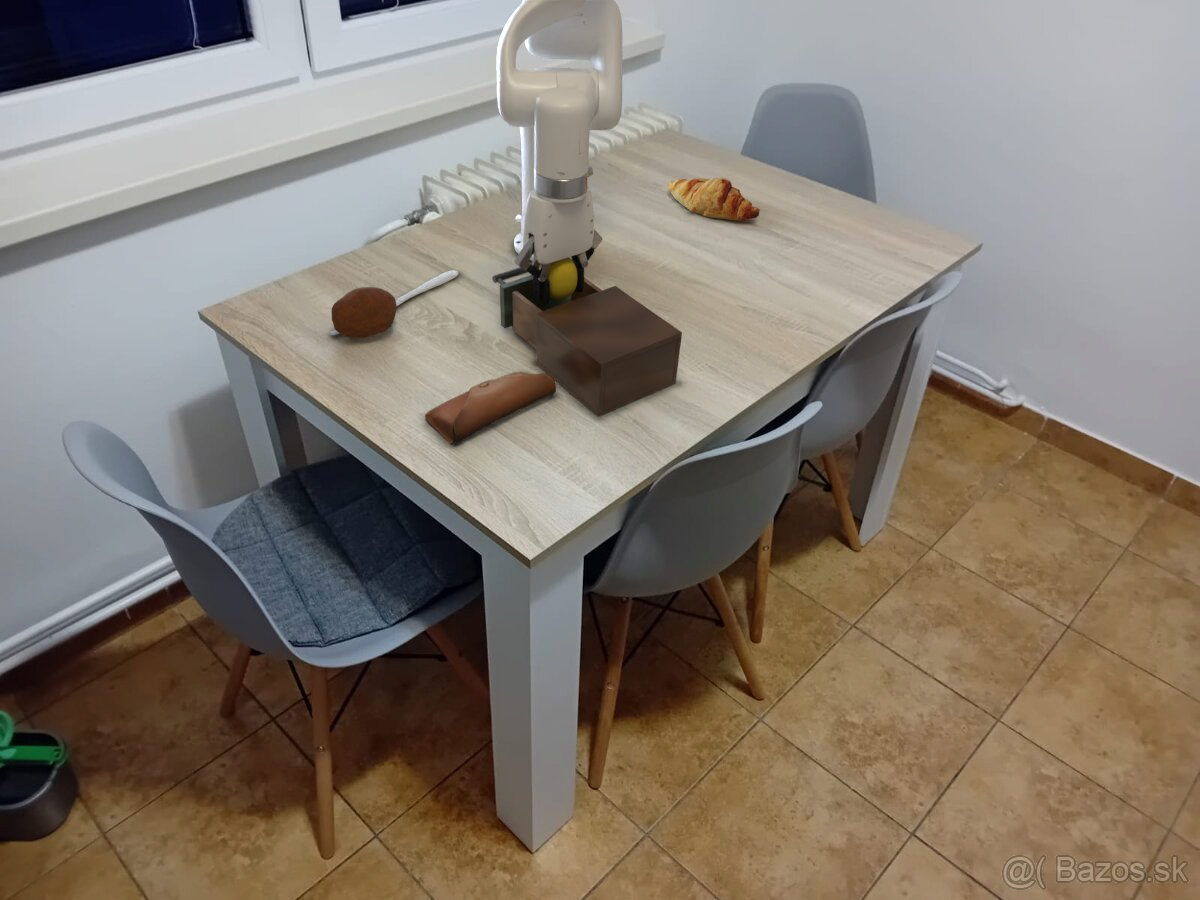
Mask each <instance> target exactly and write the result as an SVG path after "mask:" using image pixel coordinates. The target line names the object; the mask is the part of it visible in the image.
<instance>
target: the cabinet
mask: <svg viewBox="0 0 1200 900" xmlns="http://www.w3.org/2000/svg"><path fill="white" fill-rule="evenodd" d="M601 290H602V291H599V292H596V293H593V294H591V295H588V296H585V297H582V298H579V299H576V300H573V301H571V302H568V303H565V304H562V305H559V306H556V307H553V308H550V309H548V310H545V311H542V312H539V313H537V349H536V365H537V366H538V367H539V368H540V369H541V370H543V371H544V373H545V374H548V375H550V376H551V377H552V378H553V379H554V381H555V382H556V383H558V384H559V385H560V386H561V387H562V388H563V389H565V390H566V391H567V392H568V393H569V394H571V395H572V396H573V397H574V398H575V399H576V400H578V401H579V402H580V403H581V404H582V405H583V406H584V407H586V408H587V409H588V410H589V411H591V412H592V413H593V414H594V415H595V416H596V417H597V418H599V417H602V416H604V415H606V414H609V413H610V412H613V411H616V410H618V409H620V408H622V407H625V406H628V405H630V404H632V403H635V402H637V401H640V400H641V399H644V398H646V397H649V396H650V395H653V394H655V393H657V392H659V391H662V390H664V389H667V388H669V387H671V386H674V385H676V384H677V378H678V370H679V369H678V368H679V361H680V353H681V344H682V338H683V337H682V336H683V331H681V330H679V329H678V328H677V327H675V326H674V325H672V324H671V323H670V322H668V321H667V320H665V319H664V318H662V317H661V316H659V315H658V314H657V313H655V312H654V311H652V310H651V309H649V308H648V307H646V305H644V304H642V303H641V302H640V301H638V300H636V299H635V298H634V297H632V296H631V295H629V294H628V293H626V292H625V291H623V290H622V289H621V288H620V287H618V286H617V285H614V286H610V287H607V288H605V289H601Z"/></svg>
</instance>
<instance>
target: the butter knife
mask: <svg viewBox="0 0 1200 900" xmlns="http://www.w3.org/2000/svg"><path fill="white" fill-rule="evenodd" d="M459 274H460V272H459V271H458V270H454V269H452V270H447V271H445V272H443V273H441V274H438V275H437V276H435V277H433V278H431V279H429V280H428V281H426V282H424V283H423V284H421V285H419V286H418V287H416V288H414V289H412V290H411V291H409V292H407V293H405V294H404V295H402V296H399V297H397V298H395V300H396V305H397V307H398V306H400V305H401V304H403V303H404V302H406V301H408V300H410V299H411V298H413V297H415V296H417V295H420V294H422V293H424V292H426V291H429V290H431V289H433V288H436V287H438V286H441V285H442V284H445V283H447V282H449V281H451V280H453V279H455V278H457V277H458V276H459ZM329 335H331V336H337V335H341V334H340V333H338V332H337V331H336V330H335V329H333V330H330V331H329Z"/></svg>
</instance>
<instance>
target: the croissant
mask: <svg viewBox="0 0 1200 900" xmlns="http://www.w3.org/2000/svg"><path fill="white" fill-rule="evenodd" d="M667 191H669V192H670V194H671V195H672V196H673V198H674V199H675V200H676V201H677V202H678V203H680V204H681V205H682V206H683V207H685V208H686V209H687V210H689V211H690V213H695V214H699V215H701V216H703V217H708V218H712V219H714V218H715V219H725V220H729V221H742V222H744V221H749V220H751V219H756V218H758V217H759V215H760V212H761V209H760V208H759V207H757V206H753V203H752V202H751V200H749V199H747V198H745V197H744V195H742V193H741V190H740V189H738V188H736V187H733V185H732V182H731V180H730V179H727V178H726V177H714V178H711V179H709V178H703V177H697V178H691V179H687V178H682V179H681V178H680V179H677V180H670V181H669V183H667Z"/></svg>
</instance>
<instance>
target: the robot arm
mask: <svg viewBox="0 0 1200 900" xmlns="http://www.w3.org/2000/svg"><path fill="white" fill-rule="evenodd" d="M622 22H623V21H622V15H621V11H620V6H619V4H617V2H616V1H615V0H522V2H521V3H520V4H519V5H518V6H517V8H516V9H515V10H514V11H513V12H512V14H511V15H510V17H509V18H508V20H507V21H506V23H505V25H504V27H503V29H502V31H501V34H500V36H499V40H498V44H497V48H496V49H497V51H496V98H497V99H496V101H497V108H498V112H499V115H500V117H501V119H502V120H503V122H505V123H506V124H507V125H509V126H511V127H513V128H519V131H520V143H521V144H520V147H521V149H520V150H521V198H522V199H521V214H520V213H517V214H516V216H515V221H516V222H517V223H519V224H520V232H519V233H518V234H516V236H515V238H513V239H514V240H513V247H514V250H515V252H516V253H517V256H516V258H515V259H514V264H515V265H517V266H518V268H519V267H521V268H522V269H524V270H525V271H527V272H528V273H529V274H530V275H533V293H534V295H535V297H536V298H537V299H539V300H540V301H541V302H543V303H544V304H548V303H549V302H550V281H549V280H548V279H546V278H547V275H548V272H549V268H550V265H551V262H555V261H558V260H561V259H564V258H567V257H569V258H570V259H571V260H572V261H573V262H574V264H575V266H576V270H577V285H576V288H575V290H576V291H577V292H579V293H580V292H583V283H584V277H585V269H586V268H588V266H589V260H590V259H591V257H592V256H593V255H594V254H595V250H596V249H597V248H598V246H600V244H601V243H602V242H603V237H602V236H601V235H600V233H598V232H597V231H596V229H595V221H594V219H595V218H594V216H595V215H594V203H593V199H592V192H591V189H590V187H589V186H588V185H589V184H588V181H589V180H588V179H589V177H591V176H593V175H594V169H593V167H592V166H591V165H589V154H590V153H589V151H590V133H591V132H590V131H609V130H612V129H614V128H616V127H617V125H618V124H619V123H620V120H621V116H622V109H623V23H622ZM523 43H524V45H525V48H526V51H527V52H528V53H529V54H530V55H531V56H534V57H535V58H539V59H550V60H573V61H574V60H575V61H576V60H577V61H578V60H579V61H580V60H581V61H584V60H585V61H590V62H591V63H592V64H593V66H594V68H571V67H538V68H532V69H517V54H518V51H519V49H520V47H521V46H522V45H523ZM530 261H531V262H530ZM539 269H540V270H539Z"/></svg>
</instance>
